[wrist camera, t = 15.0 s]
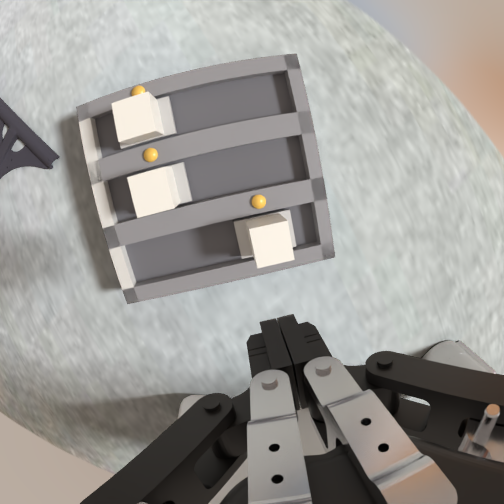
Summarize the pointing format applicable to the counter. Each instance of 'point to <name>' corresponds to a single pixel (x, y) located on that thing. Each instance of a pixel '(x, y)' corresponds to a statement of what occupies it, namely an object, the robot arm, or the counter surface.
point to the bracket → (35, 149)
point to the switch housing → (210, 175)
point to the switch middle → (159, 189)
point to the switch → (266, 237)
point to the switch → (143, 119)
